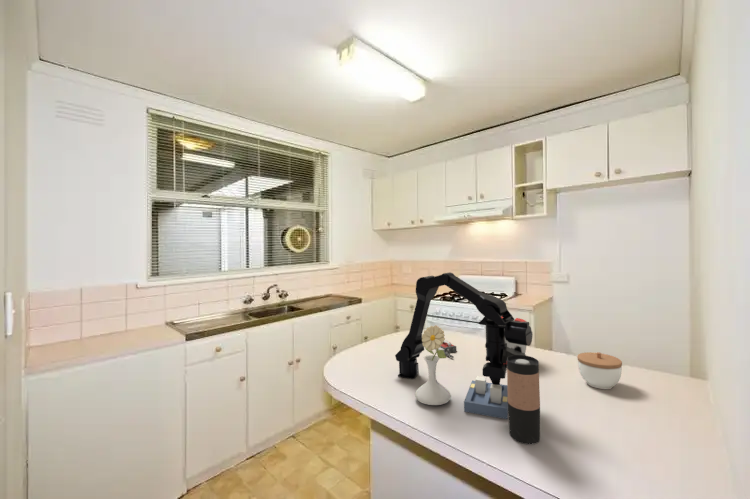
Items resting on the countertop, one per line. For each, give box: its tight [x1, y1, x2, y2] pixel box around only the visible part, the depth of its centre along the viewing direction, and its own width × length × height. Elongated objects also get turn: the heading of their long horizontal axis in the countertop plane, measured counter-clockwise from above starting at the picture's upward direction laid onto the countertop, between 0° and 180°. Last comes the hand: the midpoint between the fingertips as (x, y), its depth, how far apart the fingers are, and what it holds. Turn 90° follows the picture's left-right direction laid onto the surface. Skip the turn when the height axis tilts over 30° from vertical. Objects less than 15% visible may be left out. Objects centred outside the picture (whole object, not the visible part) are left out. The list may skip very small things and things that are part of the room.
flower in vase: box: [414, 325, 452, 406], centre depth 106 cm, size 13×11×25 cm
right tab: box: [490, 384, 502, 404], centre depth 102 cm, size 3×3×4 cm
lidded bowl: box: [576, 352, 623, 390], centre depth 113 cm, size 13×13×11 cm
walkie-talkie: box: [435, 340, 457, 359], centre depth 153 cm, size 9×4×20 cm
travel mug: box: [506, 354, 541, 445], centre depth 86 cm, size 8×8×20 cm
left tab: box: [474, 375, 487, 394], centre depth 108 cm, size 3×3×4 cm
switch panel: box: [463, 380, 509, 420], centre depth 104 cm, size 12×16×3 cm
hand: (496, 389), depth 104 cm, fingers closed
